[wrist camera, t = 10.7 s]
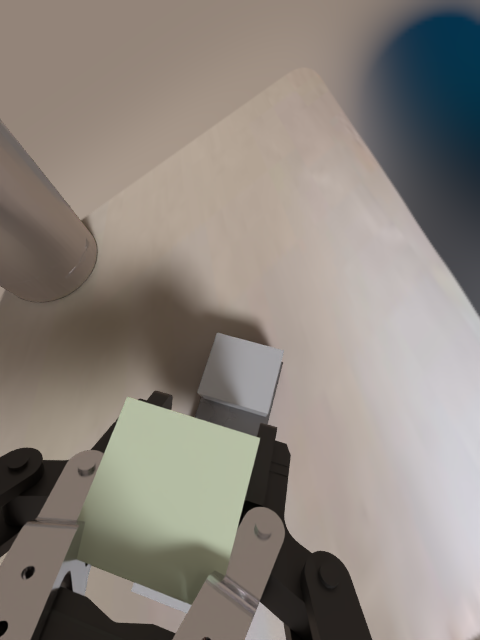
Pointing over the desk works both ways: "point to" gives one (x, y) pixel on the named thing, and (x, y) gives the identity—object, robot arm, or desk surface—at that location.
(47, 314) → the desk surface
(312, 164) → the desk surface
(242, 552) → the robot arm
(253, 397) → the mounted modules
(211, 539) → the block
